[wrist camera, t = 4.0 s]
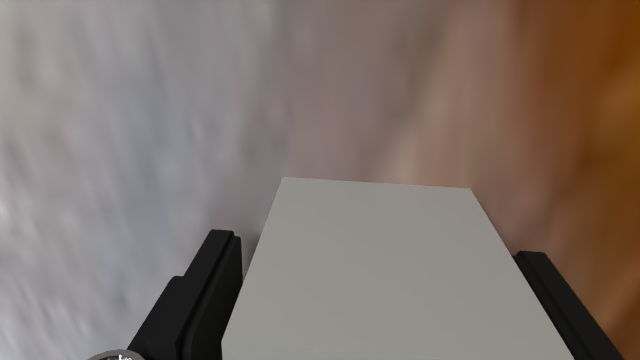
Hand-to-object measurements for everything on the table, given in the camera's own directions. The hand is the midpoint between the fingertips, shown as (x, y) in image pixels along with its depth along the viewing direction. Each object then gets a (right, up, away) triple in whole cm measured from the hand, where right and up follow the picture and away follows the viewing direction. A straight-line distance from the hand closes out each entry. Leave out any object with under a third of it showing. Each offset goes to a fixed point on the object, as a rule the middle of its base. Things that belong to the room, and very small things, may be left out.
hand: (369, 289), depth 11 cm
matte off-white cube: (0, +1, +1) cm, 1 cm away
